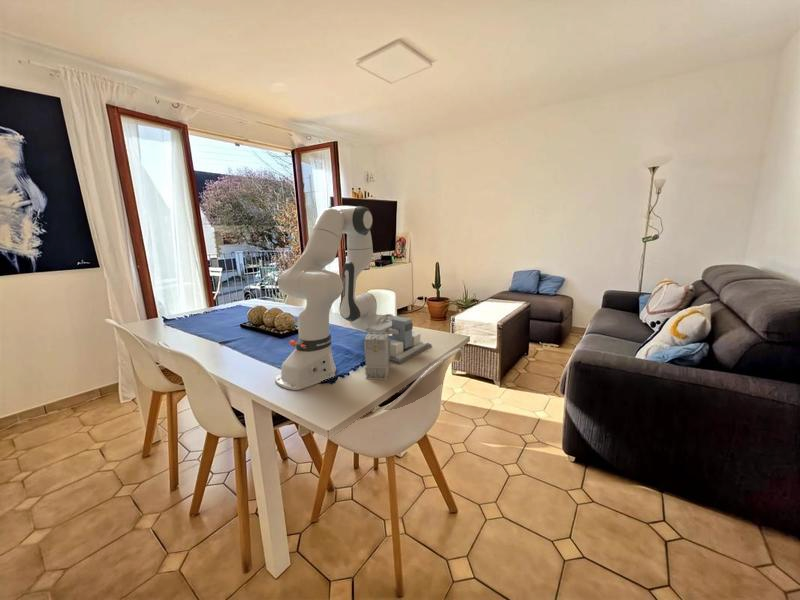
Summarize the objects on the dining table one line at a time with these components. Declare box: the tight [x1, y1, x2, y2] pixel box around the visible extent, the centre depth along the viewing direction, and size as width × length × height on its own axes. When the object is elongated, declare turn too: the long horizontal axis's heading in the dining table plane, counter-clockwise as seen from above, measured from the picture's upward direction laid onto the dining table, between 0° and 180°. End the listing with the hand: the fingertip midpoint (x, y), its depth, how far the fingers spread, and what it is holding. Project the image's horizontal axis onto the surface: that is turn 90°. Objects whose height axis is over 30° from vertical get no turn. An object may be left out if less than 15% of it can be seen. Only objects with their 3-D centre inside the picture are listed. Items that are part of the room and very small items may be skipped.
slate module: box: [391, 316, 414, 349], centre depth 142 cm, size 5×8×12 cm, turn 53°
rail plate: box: [389, 331, 432, 365], centre depth 143 cm, size 24×14×6 cm, turn 143°
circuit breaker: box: [363, 332, 391, 380], centre depth 123 cm, size 8×14×15 cm, turn 174°
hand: (403, 330), depth 141 cm, fingers closed on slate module, 5 cm apart
